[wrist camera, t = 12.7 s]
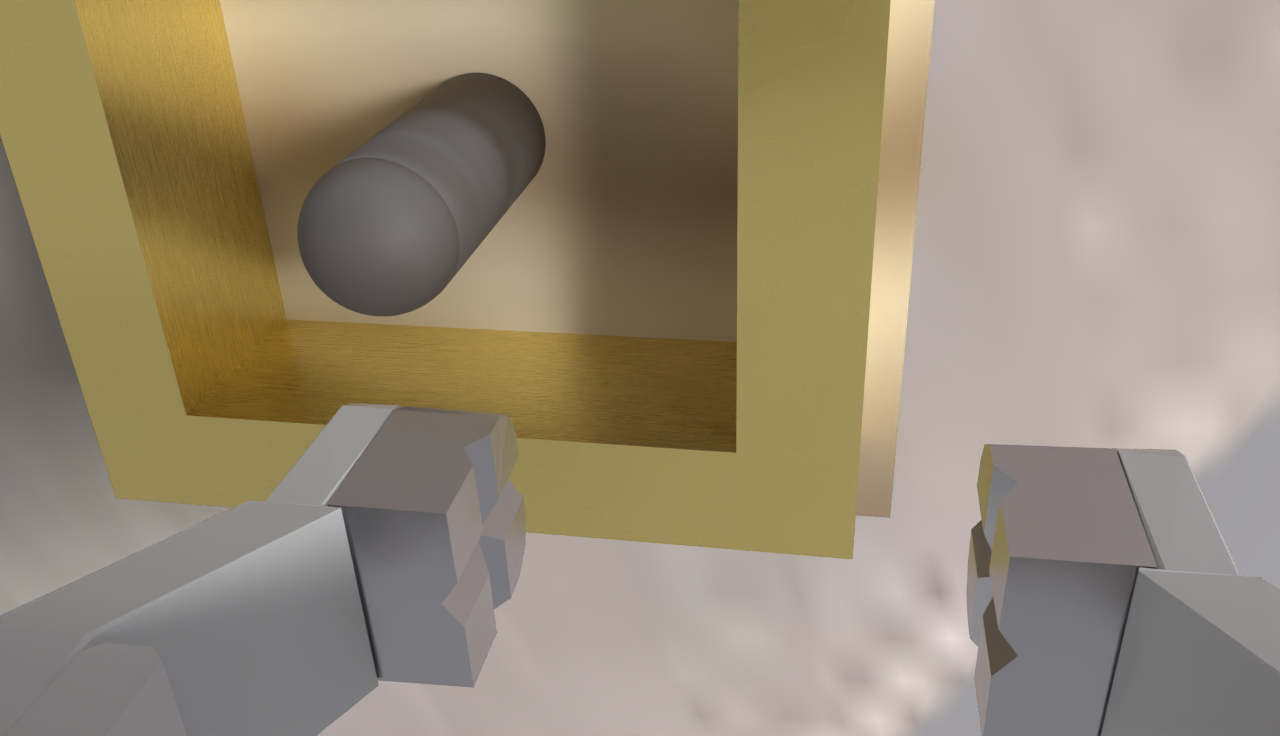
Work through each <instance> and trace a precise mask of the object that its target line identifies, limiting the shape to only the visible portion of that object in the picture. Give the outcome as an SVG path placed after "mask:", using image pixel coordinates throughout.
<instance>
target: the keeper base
mask: <svg viewBox="0 0 1280 736" xmlns="http://www.w3.org/2000/svg"><path fill="white" fill-rule="evenodd" d="M220 4H221V9H222V13H223V18H224V23H225V28H226V33H227V37H228V42H229V47H230V52H231V56H232V61H233V66H234V71H235V75H236V80H237V85H238V90H239V94H240V99H241V104H242V109H243V113H244V118H245V123H246V128H247V133H248V137H249V142H250V147H251V152H252V156H253V161H254V166H255V171H256V175H257V180H258V185H259V190H260V194H261V199H262V204H263V209H264V213H265V218H266V223H267V228H268V233H269V237H270V242H271V247H272V252H273V256H274V261H275V266H276V271H277V275H278V280H279V285H280V290H281V294H282V299H283V304H284V309H285V313H286V318H287V319H290V320H310V321H330V322H350V323H370V324H390V325H410V326H430V327H450V328H470V329H490V330H510V331H530V332H550V333H570V334H589V335H609V336H629V337H649V338H669V339H689V340H709V341H729V342H737V219H738V26H739V0H220ZM934 4H935V0H891V4H890V19H889V33H888V48H887V63H886V77H885V92H884V107H883V121H882V136H881V151H880V165H879V180H878V195H877V209H876V224H875V238H874V253H873V268H872V282H871V297H870V312H869V326H868V341H867V356H866V370H865V385H864V400H863V414H862V429H861V444H860V458H859V473H858V488H857V502H856V515H861V516H874V517H887V518H890V511H891V500H892V488H893V477H894V465H895V453H896V442H897V430H898V419H899V407H900V396H901V384H902V373H903V361H904V350H905V338H906V327H907V315H908V304H909V292H910V280H911V269H912V257H913V246H914V234H915V223H916V211H917V200H918V188H919V177H920V165H921V154H922V142H923V131H924V119H925V107H926V96H927V84H928V73H929V61H930V50H931V38H932V27H933V15H934Z"/></svg>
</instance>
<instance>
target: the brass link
mask: <svg viewBox="0 0 1280 736" xmlns="http://www.w3.org/2000/svg"><path fill="white" fill-rule="evenodd" d="M890 4H891V0H739V26H738V219H737V342H729V341H709V340H689V339H669V338H649V337H629V336H609V335H589V334H570V333H550V332H530V331H510V330H490V329H470V328H450V327H430V326H410V325H390V324H370V323H350V322H330V321H310V320H290V319H287V318H286V313H285V309H284V304H283V299H282V294H281V290H280V285H279V280H278V275H277V271H276V266H275V261H274V256H273V252H272V247H271V242H270V237H269V233H268V228H267V223H266V218H265V213H264V209H263V204H262V199H261V194H260V190H259V185H258V180H257V175H256V171H255V166H254V161H253V156H252V152H251V147H250V142H249V137H248V133H247V128H246V123H245V118H244V113H243V109H242V104H241V99H240V94H239V90H238V85H237V80H236V75H235V71H234V66H233V61H232V56H231V52H230V47H229V42H228V37H227V33H226V28H225V23H224V18H223V13H222V9H221V4H220V0H0V136H1V139H2V142H3V145H4V148H5V151H6V154H7V158H8V161H9V164H10V167H11V170H12V173H13V176H14V180H15V183H16V186H17V189H18V192H19V195H20V198H21V202H22V205H23V208H24V211H25V214H26V217H27V220H28V224H29V227H30V230H31V233H32V236H33V239H34V242H35V245H36V249H37V252H38V255H39V258H40V261H41V264H42V267H43V271H44V274H45V277H46V280H47V283H48V286H49V289H50V293H51V296H52V299H53V302H54V305H55V308H56V311H57V314H58V318H59V321H60V324H61V327H62V330H63V333H64V336H65V340H66V343H67V346H68V349H69V352H70V355H71V358H72V362H73V365H74V368H75V371H76V374H77V377H78V380H79V383H80V387H81V390H82V393H83V396H84V399H85V402H86V405H87V409H88V412H89V415H90V418H91V421H92V424H93V427H94V431H95V434H96V437H97V440H98V443H99V446H100V449H101V453H102V456H103V459H104V462H105V465H106V468H107V471H108V474H109V478H110V481H111V484H112V487H113V490H114V493H115V496H116V498H123V499H135V500H147V501H159V502H171V503H183V504H195V505H207V506H219V507H231V508H234V507H236V506H238V505H240V504H242V503H245V502H247V501H264V502H265V501H266V500H267V499H268V497H269V496H270V495H271V494H272V492H273V491H274V490H275V489H276V487H277V486H278V485H279V484H280V482H281V481H282V480H283V479H284V477H285V476H286V475H287V474H288V472H289V471H290V470H291V469H292V467H293V466H294V465H295V464H296V462H297V461H298V460H299V459H300V457H301V456H302V455H303V454H304V452H305V451H306V450H307V449H308V447H309V446H310V445H311V444H312V442H313V441H314V440H315V439H316V437H317V436H318V435H319V433H320V432H321V431H322V430H323V428H324V427H325V426H326V425H327V423H328V422H329V421H330V420H331V418H332V417H333V416H334V415H335V413H336V412H337V411H338V410H339V409H340V408H341V406H343V405H348V404H352V403H361V404H384V405H398V406H400V407H404V406H409V407H421V408H434V409H447V410H459V411H472V412H485V413H497V414H507V415H508V416H509V418H510V419H511V421H512V422H513V424H514V427H515V434H516V440H517V447H518V454H519V457H518V459H517V461H516V463H515V465H514V467H513V469H512V472H511V474H510V476H509V478H508V480H509V481H510V482H511V483H512V484H513V486H514V487H515V488H516V489H517V490H518V491H519V492H520V494H521V495H522V496H523V497H524V507H525V517H526V532H531V533H543V534H555V535H567V536H579V537H591V538H603V539H615V540H627V541H639V542H651V543H663V544H675V545H687V546H699V547H711V548H723V549H735V550H747V551H759V552H771V553H783V554H795V555H807V556H819V557H831V558H843V559H853V546H854V531H855V517H856V502H857V488H858V473H859V458H860V444H861V429H862V414H863V400H864V385H865V370H866V356H867V341H868V326H869V312H870V297H871V282H872V268H873V253H874V238H875V224H876V209H877V195H878V180H879V165H880V151H881V136H882V121H883V107H884V92H885V77H886V63H887V48H888V33H889V19H890Z"/></svg>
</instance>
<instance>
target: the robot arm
mask: <svg viewBox="0 0 1280 736" xmlns="http://www.w3.org/2000/svg"><path fill="white" fill-rule="evenodd" d="M518 457H519V454H518V447H517V440H516V434H515V427H514V424H513V422H512V421H511V419H510V418H509V416H508V415H507V414H497V413H485V412H472V411H459V410H447V409H434V408H421V407H409V406H404V407H400V406H398V405H384V404H361V403H352V404H348V405H343V406H341V408H340V409H339V410H338V411H337V412H336V413H335V415H334V416H333V417H332V418H331V420H330V421H329V422H328V423H327V425H326V426H325V427H324V428H323V430H322V431H321V432H320V433H319V435H318V436H317V437H316V439H315V440H314V441H313V442H312V444H311V445H310V446H309V447H308V449H307V450H306V451H305V452H304V454H303V455H302V456H301V457H300V459H299V460H298V461H297V462H296V464H295V465H294V466H293V467H292V469H291V470H290V471H289V472H288V474H287V475H286V476H285V477H284V479H283V480H282V481H281V482H280V484H279V485H278V486H277V487H276V489H275V490H274V491H273V492H272V494H271V495H270V496H269V497H268V499H267V500H266V501H265V502H264V501H247V502H245V503H242V504H240V505H238V506H236V507H234V508H232V509H230V510H227V511H225V512H223V513H221V514H219V515H217V516H214V517H212V518H210V519H208V520H206V521H204V522H201V523H199V524H197V525H195V526H193V527H191V528H189V529H186V530H184V531H182V532H180V533H178V534H176V535H173V536H171V537H169V538H167V539H165V540H163V541H160V542H158V543H156V544H154V545H152V546H150V547H148V548H145V549H143V550H141V551H139V552H137V553H135V554H132V555H130V556H128V557H126V558H124V559H122V560H120V561H117V562H115V563H113V564H111V565H109V566H107V567H104V568H102V569H100V570H98V571H96V572H94V573H91V574H89V575H87V576H85V577H83V578H81V579H79V580H76V581H74V582H72V583H70V584H68V585H66V586H63V587H61V588H59V589H57V590H55V591H53V592H50V593H48V594H46V595H44V596H42V597H40V598H38V599H35V600H33V601H31V602H29V603H27V604H25V605H22V606H20V607H18V608H16V609H14V610H12V611H9V612H7V613H5V614H3V615H1V616H0V736H316V735H318V734H319V733H320V732H321V731H323V730H324V729H325V728H326V727H328V726H329V725H330V724H331V723H333V722H334V721H335V720H336V719H338V718H339V717H340V716H341V715H343V714H344V713H345V712H346V711H347V710H349V709H350V708H351V707H352V706H354V705H355V704H356V703H357V702H359V701H360V700H361V699H362V698H364V697H365V696H366V695H367V694H369V693H370V692H371V691H372V690H374V689H375V688H376V687H377V686H378V680H381V681H395V682H408V683H421V684H435V685H448V686H461V687H474V685H475V683H476V681H477V678H478V676H479V673H480V671H481V669H482V666H483V664H484V662H485V659H486V657H487V655H488V652H489V650H490V647H491V645H492V643H493V640H494V638H495V636H496V633H497V631H496V623H495V616H494V609H495V608H496V607H498V606H499V605H501V604H503V603H504V602H506V601H507V600H509V599H510V598H511V597H512V594H513V592H514V589H515V587H516V584H517V581H518V579H519V576H520V572H521V566H522V561H523V555H524V550H525V537H526V517H525V507H524V497H523V496H522V495H521V494H520V492H519V491H518V490H517V489H516V488H515V487H514V486H513V484H512V483H511V482H510V481H509V480H508V478H509V476H510V474H511V472H512V469H513V467H514V465H515V463H516V461H517V459H518ZM977 489H978V496H979V504H980V511H981V518H982V520H981V521H980V522H979V523H978V524H977V525H976V526H974V527H973V528H972V529H971V539H970V549H969V558H968V575H967V613H968V625H969V635H970V639H971V640H972V641H973V642H974V643H975V644H976V645H977V646H978V654H977V662H976V669H975V677H974V679H975V686H976V694H977V702H978V709H979V718H980V725H981V734H982V736H1280V590H1279V589H1278V588H1276V587H1275V586H1273V585H1272V584H1270V583H1268V582H1267V581H1266V580H1264V579H1263V578H1261V577H1252V576H1240V574H1239V572H1238V570H1237V568H1236V565H1235V563H1234V561H1233V559H1232V557H1231V555H1230V552H1229V550H1228V548H1227V546H1226V544H1225V542H1224V539H1223V537H1222V535H1221V533H1220V531H1219V528H1218V526H1217V524H1216V522H1215V520H1214V518H1213V515H1212V513H1211V511H1210V509H1209V507H1208V505H1207V502H1206V500H1205V498H1204V496H1203V494H1202V491H1201V489H1200V487H1199V485H1198V483H1197V481H1196V478H1195V476H1194V474H1193V472H1192V470H1191V468H1190V465H1189V463H1188V461H1187V459H1186V457H1185V455H1183V454H1182V453H1180V452H1179V451H1177V450H1163V449H1119V448H1112V449H1109V448H1081V447H1052V446H1024V445H995V444H985V445H984V449H983V453H982V457H981V462H980V469H979V476H978V483H977Z"/></svg>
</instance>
